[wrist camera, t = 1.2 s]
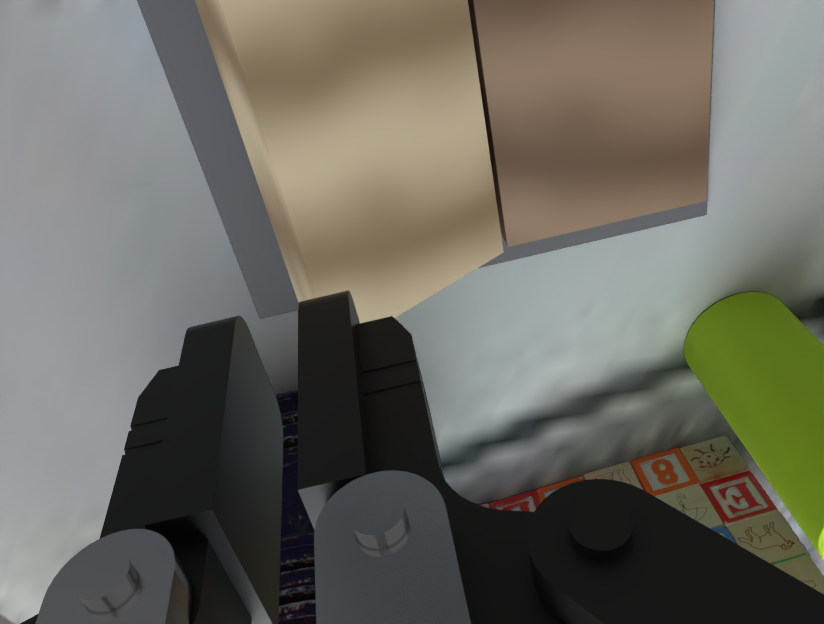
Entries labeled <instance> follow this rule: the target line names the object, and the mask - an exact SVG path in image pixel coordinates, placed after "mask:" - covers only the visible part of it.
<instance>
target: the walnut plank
mask: <svg viewBox="0 0 824 624" xmlns="http://www.w3.org/2000/svg"><path fill="white" fill-rule="evenodd" d="M468 6H469V13H470V20H471V27H472V34H473V41H474V48H475V55H476V62H477V69H478V76H479V83H480V90H481V97H482V104H483V111H484V118H485V125H486V132H487V139H488V146H489V153H490V160H491V167H492V174H493V181H494V188H495V195H496V202H497V209H498V216H499V223H500V230H501V234H502V236H503V238H504V240H505V243H506V245H507V247H510V246H515V245H519V244H523V243H527V242H532V241H536V240H540V239H545V238H549V237H553V236H558V235H562V234H566V233H570V232H575V231H579V230H583V229H588V228H592V227H596V226H600V225H605V224H609V223H613V222H618V221H622V220H626V219H631V218H635V217H639V216H643V215H648V214H652V213H656V212H661V211H665V210H669V209H674V208H678V207H682V206H686V205H691V204H695V203H699V202H704V201H706V193H707V167H708V141H709V115H710V89H711V63H712V37H713V11H714V0H468Z"/></svg>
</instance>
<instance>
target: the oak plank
mask: <svg viewBox="0 0 824 624" xmlns="http://www.w3.org/2000/svg"><path fill="white" fill-rule="evenodd" d="M195 2H196V5H197V8H198V11H199V14H200V17H201V20H202V23H203V26H204V29H205V32H206V35H207V37H208V40H209V43H210V46H211V49H212V52H213V55H214V58H215V61H216V64H217V67H218V69H219V72H220V75H221V78H222V81H223V84H224V87H225V90H226V93H227V96H228V99H229V101H230V104H231V107H232V110H233V113H234V116H235V119H236V122H237V125H238V128H239V131H240V134H241V136H242V139H243V142H244V145H245V148H246V151H247V154H248V157H249V160H250V163H251V166H252V168H253V171H254V174H255V177H256V180H257V183H258V186H259V189H260V192H261V195H262V198H263V200H264V203H265V206H266V209H267V212H268V215H269V218H270V221H271V224H272V227H273V230H274V233H275V235H276V238H277V241H278V244H279V247H280V250H281V253H282V256H283V259H284V262H285V265H286V267H287V270H288V273H289V276H290V279H291V282H292V285H293V288H294V291H295V294H296V297H297V300H298V302H301V301H305V300H309V299H313V298H318V297H322V296H326V295H331V294H335V293H339V292H343V291H348V290H349V291H350V293H351V295H352V298H353V301H354V304H355V308H356V311H357V315H358V318H359V322H360V323H364V322H369V321H373V320H377V319H382V318H386V317H390V316H393V317H394V318H396V317H397V316H399V315H401V314H402V313H404V312H406V311H407V310H409V309H411V308H412V307H414V306H416V305H417V304H419V303H421V302H422V301H424V300H426V299H427V298H429V297H431V296H432V295H434V294H436V293H437V292H439V291H440V290H442V289H444V288H445V287H447V286H449V285H450V284H452V283H454V282H455V281H457V280H459V279H460V278H462V277H464V276H465V275H467V274H469V273H470V272H472V271H474V270H475V269H477V268H479V267H480V266H482V265H484V264H485V263H487V262H489V261H490V260H492V259H493V258H495V257H497V256H498V255H500V254H502V253H503V252H504V251H503V244H502V237H501V230H500V223H499V216H498V209H497V202H496V195H495V188H494V181H493V174H492V167H491V160H490V153H489V146H488V139H487V132H486V125H485V118H484V111H483V104H482V97H481V90H480V83H479V76H478V69H477V62H476V55H475V48H474V41H473V34H472V27H471V20H470V13H469V6H468V0H195Z"/></svg>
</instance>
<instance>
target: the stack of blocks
mask: <svg viewBox="0 0 824 624" xmlns="http://www.w3.org/2000/svg"><path fill="white" fill-rule="evenodd" d="M589 479H610V480H616V481H621V482H625V483H628V484H631V485H634V486H636V487H638V488H640V489H642V490H644V491H646V492H648V493H650V494H651V495H653V496H655V497H656V498H658V499H660V500H662V501H663V502H665V503H667V504H669V505H670V506H672V507H674V508H675V509H677V510H679V511H681V512H682V513H684V514H686V515H688V516H689V517H691V518H693V519H694V520H696V521H698V522H700V523H701V524H703V525H705V526H707V527H708V528H710V529H712V530H713V531H715V532H717V533H719V534H720V535H722V536H724V537H725V538H727V539H729V540H731V541H732V542H734V543H736V544H738V545H739V546H741V547H743V548H744V549H746V550H748V551H750V552H751V553H753V554H755V555H757V556H758V557H760V558H762V559H763V560H765V561H767V562H769V563H770V564H772V565H774V566H776V567H777V568H779V569H781V570H782V571H784V572H786V573H788V574H789V575H791V576H793V577H795V578H796V579H798V580H800V581H801V582H803V583H805V584H807V585H808V586H810V587H812V588H814V589H815V590H817V591H819V592H820V593H822V594H824V576H823V575H822V573H821V572H820V570H819V569H818V567H817V566H816V565H815V563H814V562H813V560H812V559H811V557H810V554H809V552H808V551H807V549H806V548H805V546H804V545H803V544H802V543H801V542H800V541H799V538H798V536H797V535H796V534H795V532H794V531H793V530H792V528H791V527H790V525H789V523H788V522H787V521H786V519H785V518H784V517H783V515H782V514H781V513H780V512H779V511H778V509H777V508H776V506H775V505H774V503H773V502H772V501H771V499H770V498H769V496H768V495H767V493H766V492H765V491H764V489H763V488H762V486H761V485H760V484H759V482H758V481H757V480H756V478H755V477H754V475H753V474H752V473H751V472H750V470H749V468H748V466H747V464H746V463H745V461H744V460H743V459H742V457H741V456H740V454H739V453H738V451H737V450H736V448H735V447H734V446H733V444H732V443H731V441H730V440H729V439H728V437H727V436H726V435H725V436H721V437H717V438H714V439H710V440H707V441H703V442H699V443H696V444H692V445H688V446H685V447H681V448H674V449H671V450H667V451H664V452H660V453H657V454H653V455H650V456H646V457H642V458H639V459H635V460H632V461H630V462H625V463H621V464H617V465H613V466H610V467H606V468H603V469H599V470H596V471H592V472H589V473H586V474H584V475H583V476H580V477H576V478H572V479H570V480H566V481H563V482H559V483H556V484H552V485H549V486H545V487H542V488H539V489H537V490H535V491H530V492H526V493H523V494H519V495H516V496H512V497H509V498H505V499H502V500H498V501H495V502H492V503H490V504H487V503H486V504H482V505H480V506H483V507H487V508H491V509H499V510H511V511H529V512H534V511H535V510H536V508H537V506H538V505H539V504H540V503H541V502H542V501H543V500H544V499H545V498H546V497H547V496H548V495H550V494H551V493H552V492H554V491H556V490H557V489H559V488H561V487H563V486H565V485H568V484H571V483H573V482H578V481H582V480H589Z"/></svg>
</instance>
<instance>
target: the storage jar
mask: <svg viewBox="0 0 824 624" xmlns="http://www.w3.org/2000/svg"><path fill="white" fill-rule="evenodd" d="M276 399H277V402H278V406H279V409H280V414H281V419H282V426H283V471H282V508H281V546H280V584H279V622H278V624H316V592H315V554H314V532H315V530H314V528H313V525H312V523H311V521H310V518H309V516H308V513H307V511H306V509H305V506H304V504H303V501H302V499H301V497H300V494H299V492H298V390H295V391H290V392H287V393H283V394H280V395H277V396H276Z"/></svg>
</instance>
